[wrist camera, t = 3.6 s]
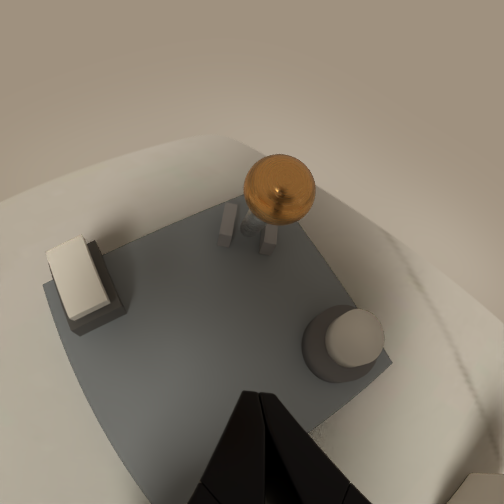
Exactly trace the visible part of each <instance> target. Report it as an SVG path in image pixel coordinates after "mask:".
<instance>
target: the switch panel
mask: <svg viewBox="0 0 504 504" xmlns="http://www.w3.org/2000/svg"><path fill="white" fill-rule="evenodd" d="M248 210H249V207H248V206H247V203H246V201H245V197H244V195H241V196H239V197H236V198H234V199H231V200H229V201H226V202H224V203H221V204H219V205H216V206H214V207H211V208H209V209H207V210H204V211H202V212H199V213H197V214H195V215H192V216H190V217H187V218H185V219H183V220H180V221H178V222H176V223H173V224H171V225H169V226H166V227H164V228H162V229H159V230H157V231H155V232H153V233H150V234H148V235H146V236H144V237H141V238H139V239H137V240H135V241H132V242H130V243H128V244H126V245H124V246H122V247H119V248H117V249H115V250H113V251H111V252H109V253H106V254H104V255H102V254H101V251H100V249H99V247H98V245H97V244H96V242H95V240H94V241H92V242H90V243H88V244H87V246H88V249H89V252H90V254H91V257H92V260H93V262H94V265H95V267H96V270H97V272H98V275H99V277H100V279H101V282H102V284H103V287H104V289H105V291H106V294H107V296H108V298H109V300H110V304H108V305H106V306H104V307H102V308H100V309H98V310H95V311H93V312H91V313H89V314H87V315H85V316H83V317H81V318H79V319H77V320H75V321H74V320H71V319H69V317H68V315H67V312H66V310H65V307H64V304H63V302H62V299H61V296H60V294H59V291H58V288H57V285H56V283H55V280H54V277H53V274H52V271H51V274H52V277H53V280H51V281H49V282H47V283H45V284H43V288H44V291H45V294H46V298H47V301H48V304H49V307H50V310H51V313H52V316H53V319H54V322H55V325H56V328H57V330H58V333H59V336H60V339H61V341H62V344H63V346H64V349H65V351H66V354H67V356H68V359H69V361H70V364H71V366H72V368H73V370H74V373H75V375H76V377H77V379H78V382H79V384H80V386H81V388H82V390H83V392H84V394H85V396H86V398H87V401H88V403H89V404H90V406H91V408H92V410H93V412H94V414H95V416H96V418H97V420H98V422H99V424H100V425H101V427H102V429H103V431H104V433H105V434H106V436H107V438H108V439H109V441H110V443H111V445H112V446H113V448H114V450H115V451H116V453H117V454H118V456H119V458H120V459H121V461H122V462H123V464H124V465H125V467H126V469H127V470H128V472H129V473H130V475H131V476H132V478H133V479H134V480H135V482H136V483H137V485H138V486H139V488H140V489H141V490H142V492H143V493H144V494H145V496H146V497H147V499H148V500H149V501H150V503H151V504H186V503H187V502H188V500H189V499H190V497H191V495H192V493H193V491H194V489H195V487H196V485H197V484H198V483H199V480H200V478H201V476H202V474H203V472H204V470H205V468H206V466H207V464H208V462H209V460H210V458H211V456H212V454H213V452H214V450H215V448H216V445H217V443H218V441H219V439H220V437H221V435H222V433H223V431H224V429H225V427H226V424H227V422H228V420H229V418H230V416H231V414H232V412H233V409H234V407H235V405H236V403H237V401H238V399H239V396H240V394H241V392H242V391H243V390H247V391H256V392H257V393H260V392H266V393H273V394H275V395H276V396H277V397H278V399H279V400H280V401H281V402H282V403H283V405H284V406H285V407H286V408H287V410H288V411H289V412H290V413H291V414H292V416H293V417H294V418H295V419H296V420H297V422H298V423H299V424H300V425H301V426H302V428H303V429H304V430H305V431H306V432H307V433H308V432H310V431H311V430H313V429H314V428H315V427H317V426H318V425H319V424H321V423H322V422H323V421H325V420H326V419H327V418H329V417H330V416H331V415H333V414H334V413H335V412H336V411H338V410H339V409H340V408H341V407H343V406H344V405H345V404H346V403H348V402H349V401H350V400H351V399H353V398H354V397H355V396H356V395H357V394H358V393H360V392H361V391H362V390H363V389H364V388H366V387H367V386H368V385H369V384H370V383H371V382H372V381H374V380H375V379H376V378H377V377H378V376H379V375H380V374H381V373H382V372H383V371H385V370H386V369H387V368H388V367H389V366H390V365H391V364H392V361H391V359H390V358H389V356H388V355H387V353H386V351H385V350H384V348H383V349H382V351H381V353H380V355H379V356H378V357H377V358H376V359H375V360H374V361H372V362H370V363H368V364H364V365H361V366H357V367H352V368H348V367H343V366H340V365H339V364H337V363H336V362H334V361H333V360H332V358H331V357H330V356H329V354H328V352H327V349H326V345H325V336H326V332H327V329H328V327H329V325H330V324H331V323H332V322H333V321H334V320H335V319H337V318H338V317H340V316H342V315H343V314H345V313H346V312H348V311H350V310H353V309H358V308H357V307H356V305H355V304H354V302H353V301H352V299H351V298H350V296H349V295H348V293H347V292H346V290H345V289H344V287H343V286H342V284H341V283H340V281H339V280H338V279H337V277H336V276H335V274H334V273H333V271H332V270H331V268H330V267H329V266H328V264H327V263H326V261H325V260H324V258H323V257H322V255H321V254H320V253H319V251H318V250H317V248H316V247H315V246H314V244H313V243H312V241H311V240H310V239H309V237H308V236H307V234H306V233H305V232H304V230H303V229H302V227H301V226H300V225H299V223H298V222H294V223H292V224H289V225H283V226H277V225H271V224H267V225H266V226H265V227H264V228H262V229H261V230H260V231H259V232H258V233H257V234H256V235H255V236H253V237H246V236H244V235H243V234H242V233H241V231H240V225H241V223H242V221H243V219H244V217H245V216H246V214H247V212H248ZM49 267H50V265H49ZM50 270H51V268H50Z"/></svg>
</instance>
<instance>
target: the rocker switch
mask: <svg viewBox="0 0 504 504" xmlns="http://www.w3.org/2000/svg"><path fill="white" fill-rule="evenodd" d="M46 255H47V258H48V261H49V265H50V268H51V271H52V274H53V277H54V280H55V283H56V285H57V288H58V291H59V294H60V296H61V299H62V302H63V304H64V307H65V310H66V312H67V315H68V317H69V319H71V320H74V321H75V320H77V319H79V318H81V317H83V316H85V315H87V314H89V313H91V312H93V311H95V310H98V309H100V308H102V307H104V306H106V305H108V304H110V300H109V298H108V296H107V294H106V291H105V289H104V287H103V284H102V282H101V279H100V277H99V275H98V272H97V270H96V267H95V265H94V262H93V260H92V257H91V254H90V252H89V249H88V246H87V244H86V241H85V239H84V238H83V236H82V234H81V235H79V236H77V237H75V238H73V239H71V240H69V241H67V242H65V243H63V244H61V245H59V246H57V247H55V248H53V249H51V250H49V251H47V252H46Z"/></svg>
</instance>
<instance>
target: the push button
mask: <svg viewBox="0 0 504 504" xmlns="http://www.w3.org/2000/svg"><path fill="white" fill-rule="evenodd" d="M325 345H326V349H327V352H328V354H329V356H330V357H331V358H332V360H333V361H334V362H336V363H337V364H339V365H340V366H343V367H348V368H352V367H357V366H361V365H364V364H368V363H370V362H372V361H374V360H375V359H376V358H377V357H378V356H379V355H380V353H381V351H382V349H383V346H384V331H383V328H382V326H381V323H380V322H379V320H378V319H377V318H376V317H375V316H374V315H373V314H372V313H370V312H368V311H366V310H363V309H353V310H350V311H348V312H346V313H345V314H343V315H342V316H340V317H338V318H337V319H335V320H334V321H333V322H332V323H331V324H330V325H329V327H328V329H327V332H326V336H325Z"/></svg>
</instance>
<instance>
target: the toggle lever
mask: <svg viewBox="0 0 504 504" xmlns="http://www.w3.org/2000/svg"><path fill="white" fill-rule="evenodd" d="M315 192H316V189H315V181H314V178H313V176H312V174H311V172H310V170H309V169H308V168H307V167H306V166H305V165H304V164H303V163H302V162H301V161H300V160H298V159H296V158H294V157H292V156H288V155H283V154H276V155H270V156H267V157H264V158H262V159H261V160H259V161H258V162H256V163H255V164H254V165H253V166H252V168H251V169H250V170H249V172H248V174H247V176H246V178H245V182H244V197H245V201H246V203H247V206H248V207H249V210H248V212H247V214H246V216H245V217H244V219H243V221H242V223H241V225H240V231H241V233H242V234H243V235H244V236H246V237H253V236H255V235H256V234H257V233H258V232H259V231H260V230H261V229H262V228H264V227H265V226H266V225H267V224H271V225H277V226H283V225H289V224H292V223H294V222H297V221H298V220H300V219H301V218H303V217H304V216H305V215H306V214H307V213H308V211H309V210H310V209H311V207H312V205H313V202H314V199H315Z"/></svg>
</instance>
